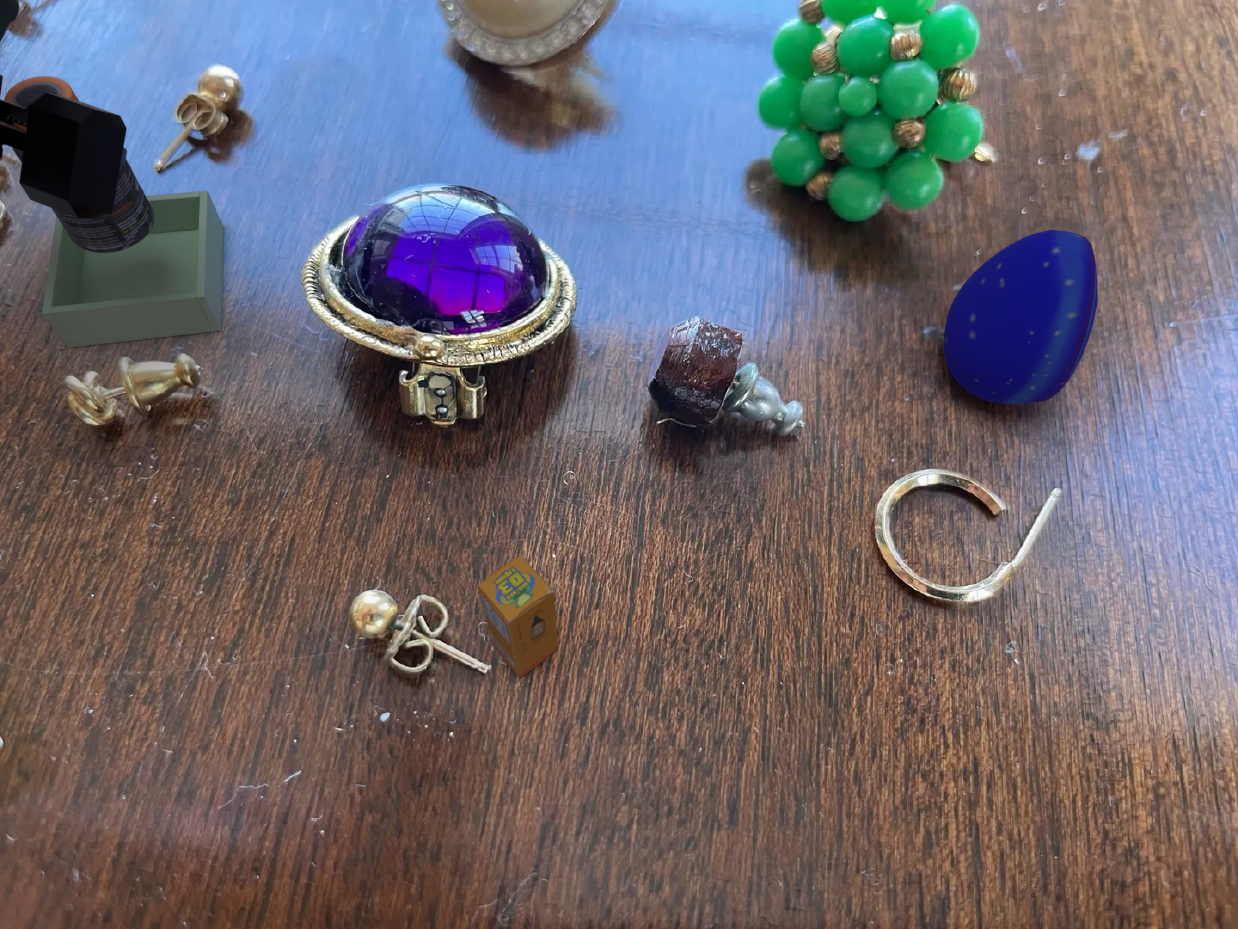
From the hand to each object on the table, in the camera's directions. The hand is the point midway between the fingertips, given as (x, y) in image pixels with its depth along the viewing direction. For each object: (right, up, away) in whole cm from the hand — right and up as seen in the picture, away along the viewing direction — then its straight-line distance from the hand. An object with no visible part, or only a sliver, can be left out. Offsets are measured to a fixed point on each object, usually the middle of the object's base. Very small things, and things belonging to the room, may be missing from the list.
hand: (85, 142), depth 60 cm
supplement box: (+30, -34, -2) cm, 45 cm away
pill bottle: (-1, -4, +5) cm, 7 cm away
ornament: (+66, -15, +12) cm, 69 cm away
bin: (-1, -7, +11) cm, 13 cm away
